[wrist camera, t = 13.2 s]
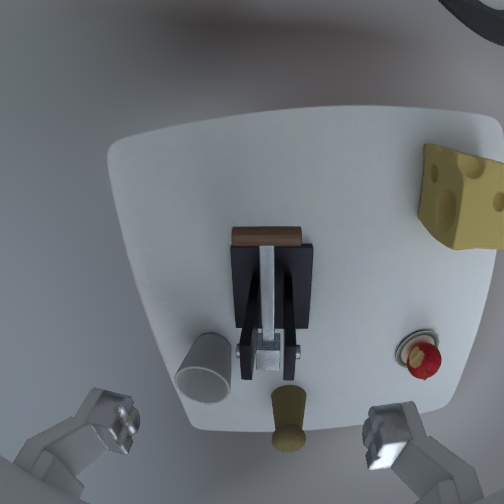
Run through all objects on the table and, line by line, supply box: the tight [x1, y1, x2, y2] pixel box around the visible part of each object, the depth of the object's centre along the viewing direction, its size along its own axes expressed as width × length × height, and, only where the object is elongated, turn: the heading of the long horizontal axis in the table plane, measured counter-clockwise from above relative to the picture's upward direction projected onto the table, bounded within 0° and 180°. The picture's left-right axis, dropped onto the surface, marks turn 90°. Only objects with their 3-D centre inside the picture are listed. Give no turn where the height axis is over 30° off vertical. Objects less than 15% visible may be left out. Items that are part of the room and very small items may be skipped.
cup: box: [175, 334, 231, 405], centre depth 41 cm, size 8×10×8 cm
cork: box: [271, 385, 306, 452], centre depth 43 cm, size 6×6×11 cm
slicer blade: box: [232, 226, 302, 370], centre depth 25 cm, size 14×5×2 cm, turn 2°
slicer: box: [230, 244, 313, 380], centre depth 33 cm, size 12×10×15 cm
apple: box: [396, 330, 441, 380], centre depth 39 cm, size 8×8×6 cm
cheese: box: [418, 143, 504, 250], centre depth 28 cm, size 10×11×10 cm
